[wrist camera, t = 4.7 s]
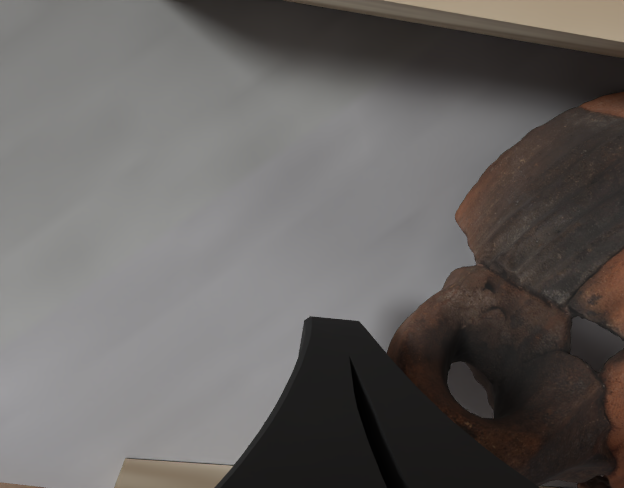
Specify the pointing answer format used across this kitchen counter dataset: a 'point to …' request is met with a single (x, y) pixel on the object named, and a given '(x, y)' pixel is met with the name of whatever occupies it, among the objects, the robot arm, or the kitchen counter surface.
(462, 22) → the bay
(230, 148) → the kitchen counter surface
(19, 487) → the crank handle
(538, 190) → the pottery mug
